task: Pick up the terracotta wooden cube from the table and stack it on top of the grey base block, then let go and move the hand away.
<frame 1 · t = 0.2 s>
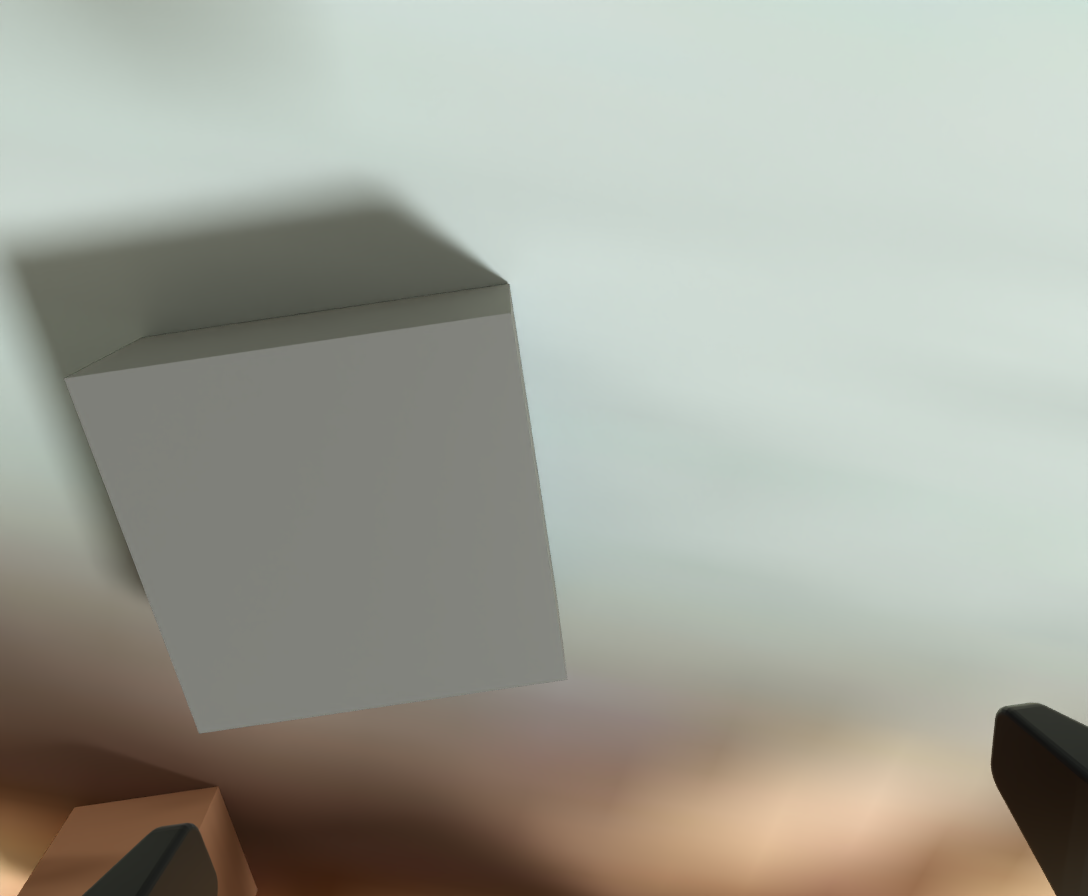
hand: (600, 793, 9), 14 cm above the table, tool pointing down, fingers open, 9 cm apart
terracotta cube: (169, 848, 27), on the table
base block: (366, 478, 23), on the table
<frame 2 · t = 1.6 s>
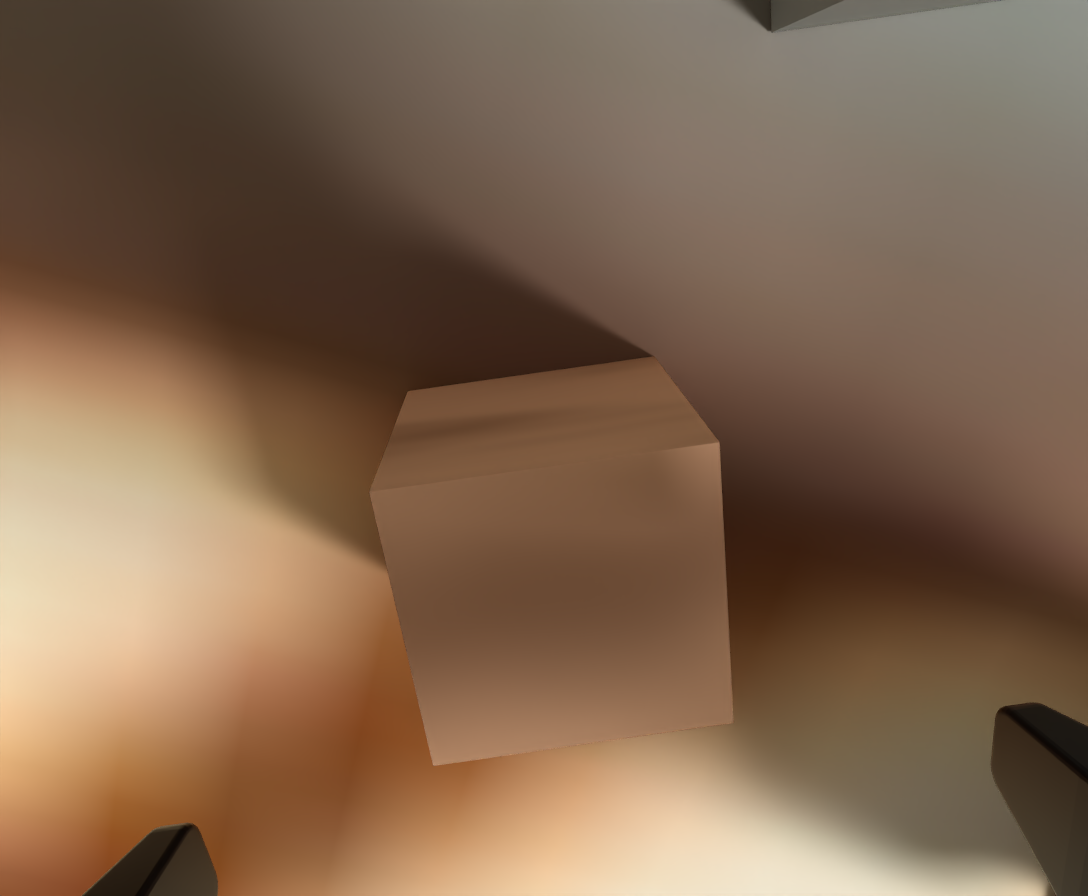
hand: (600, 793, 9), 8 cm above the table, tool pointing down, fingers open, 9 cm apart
terracotta cube: (546, 484, 16), on the table
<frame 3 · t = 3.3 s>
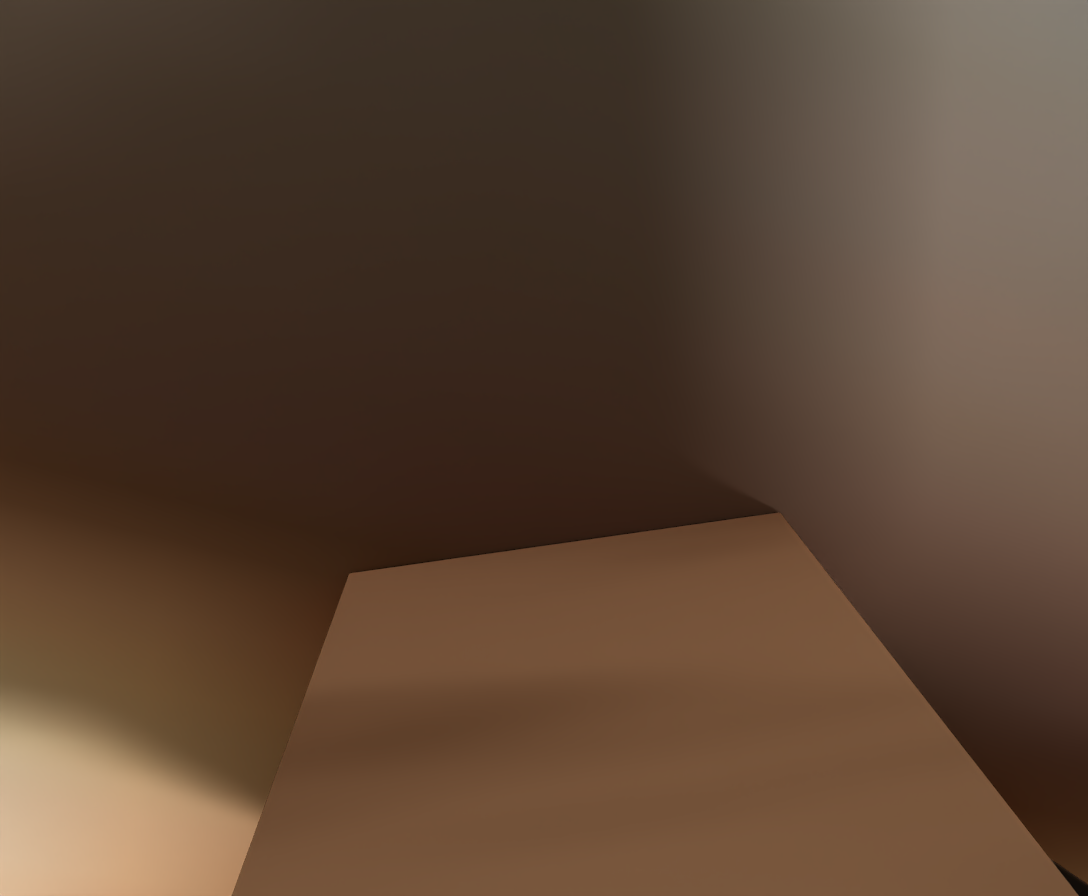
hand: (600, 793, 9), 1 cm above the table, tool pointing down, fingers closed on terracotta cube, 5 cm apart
terracotta cube: (588, 716, 10), on the table, touching gripper
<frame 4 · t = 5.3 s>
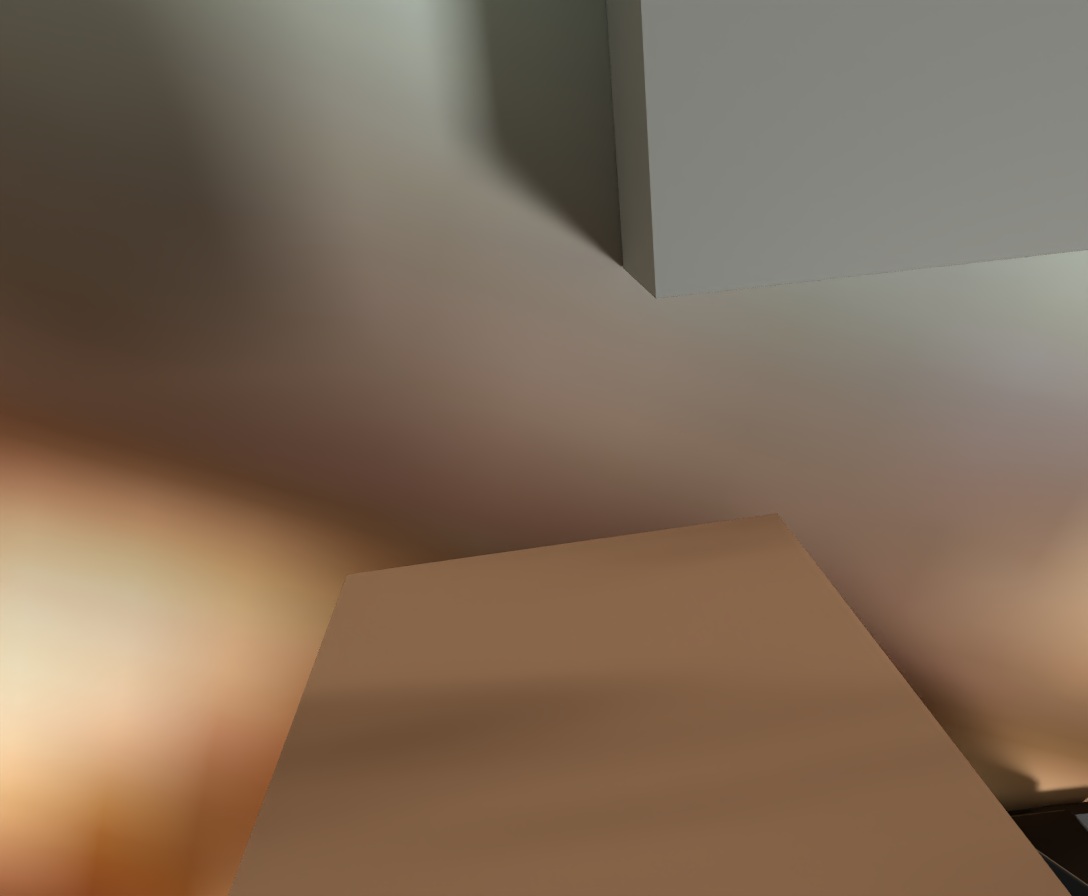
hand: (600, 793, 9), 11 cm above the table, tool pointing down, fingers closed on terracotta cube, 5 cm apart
terracotta cube: (586, 717, 10), point 10 cm above the table, touching gripper
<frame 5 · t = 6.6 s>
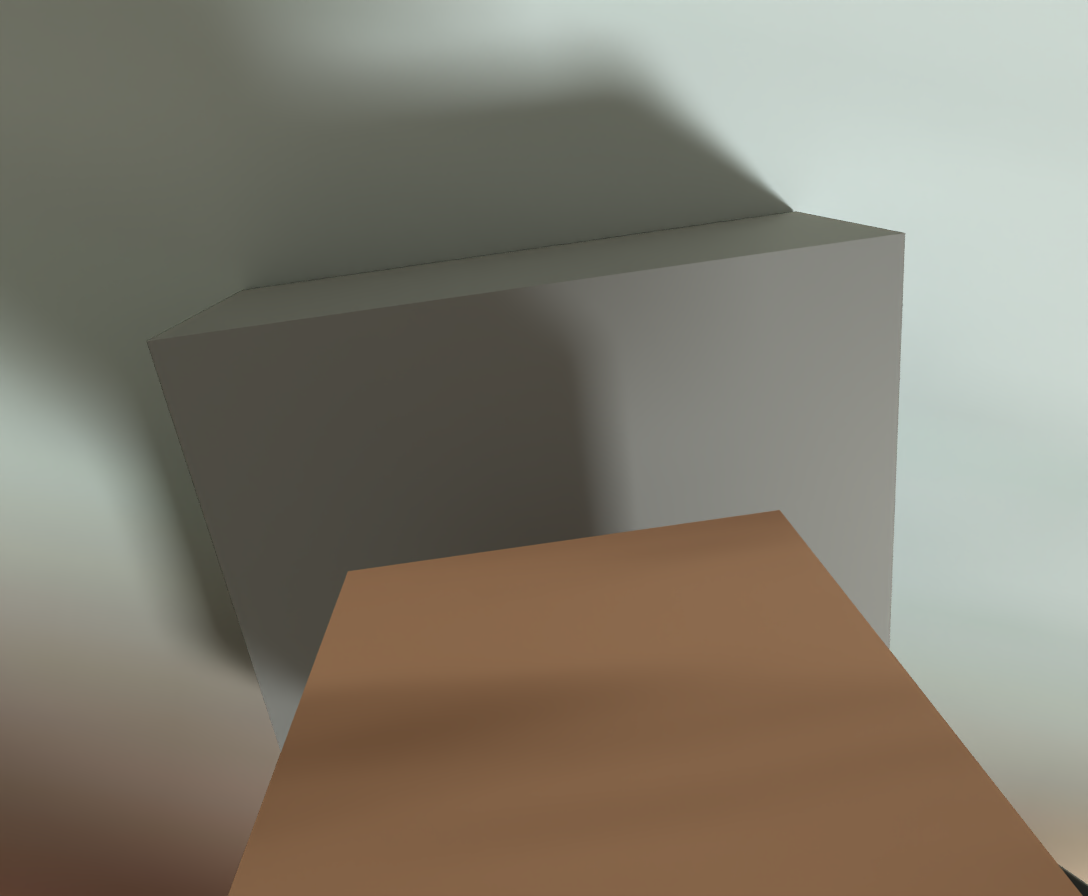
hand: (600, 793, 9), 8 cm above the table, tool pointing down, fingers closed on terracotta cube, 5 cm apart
terracotta cube: (587, 714, 10), point 6 cm above the table, touching gripper
base block: (554, 501, 16), on the table
when the fingers open (7 cm above the table, at t = 7.5 s): terracotta cube drops 2 cm, resting on base block.
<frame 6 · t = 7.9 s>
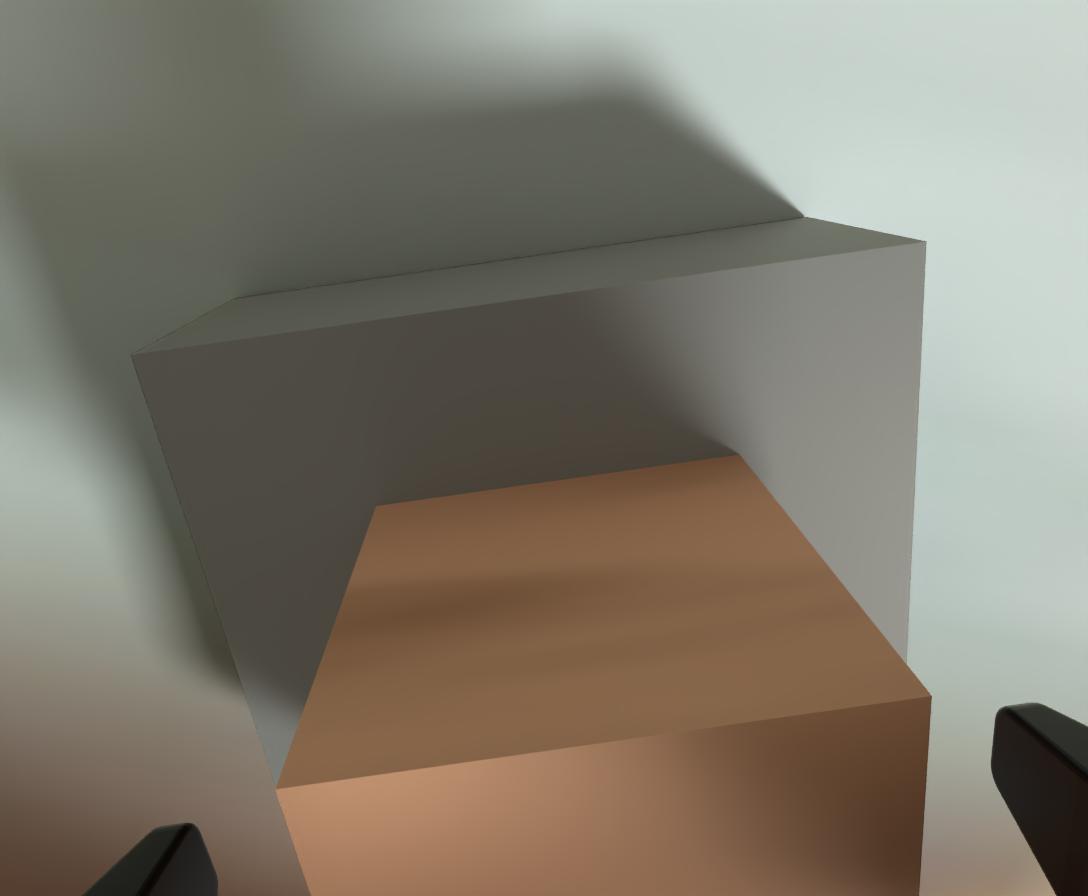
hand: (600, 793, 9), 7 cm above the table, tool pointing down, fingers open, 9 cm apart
terracotta cube: (578, 633, 11), point 4 cm above the table, touching base block
base block: (557, 515, 15), on the table
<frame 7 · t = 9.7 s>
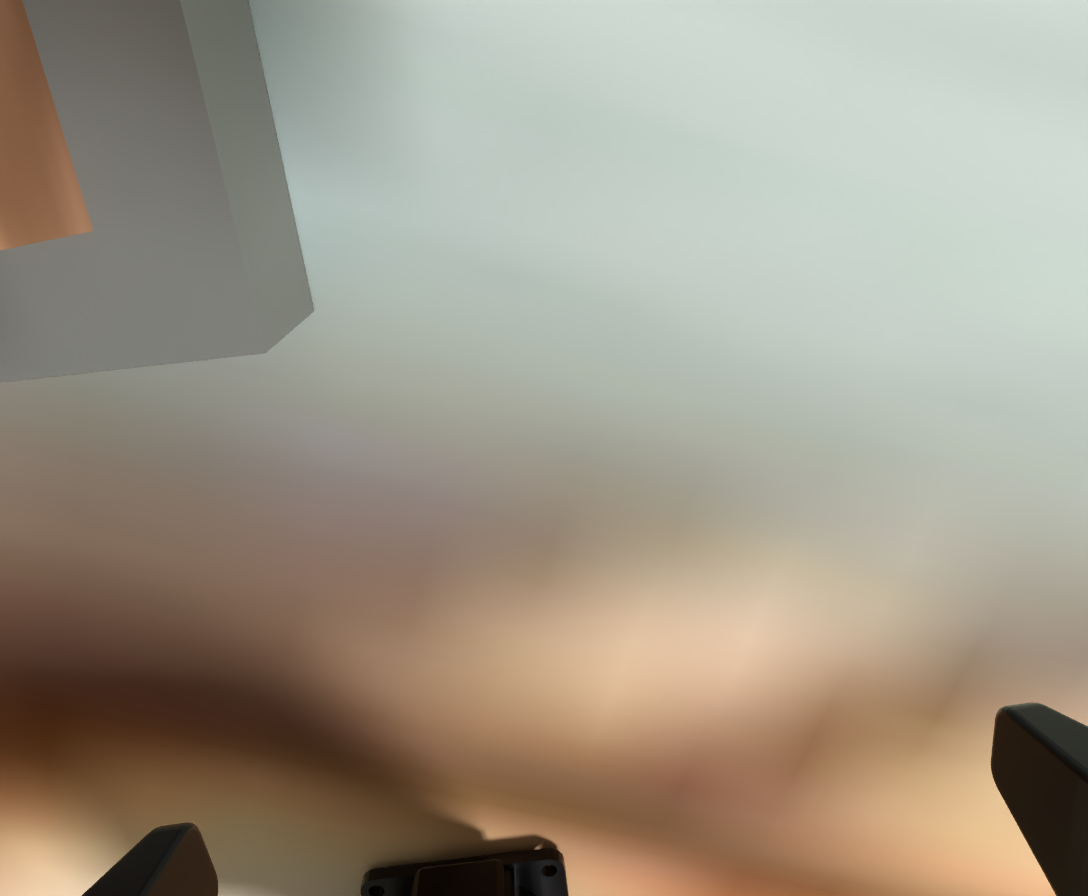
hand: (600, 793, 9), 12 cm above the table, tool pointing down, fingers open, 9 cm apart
base block: (29, 103, 16), on the table
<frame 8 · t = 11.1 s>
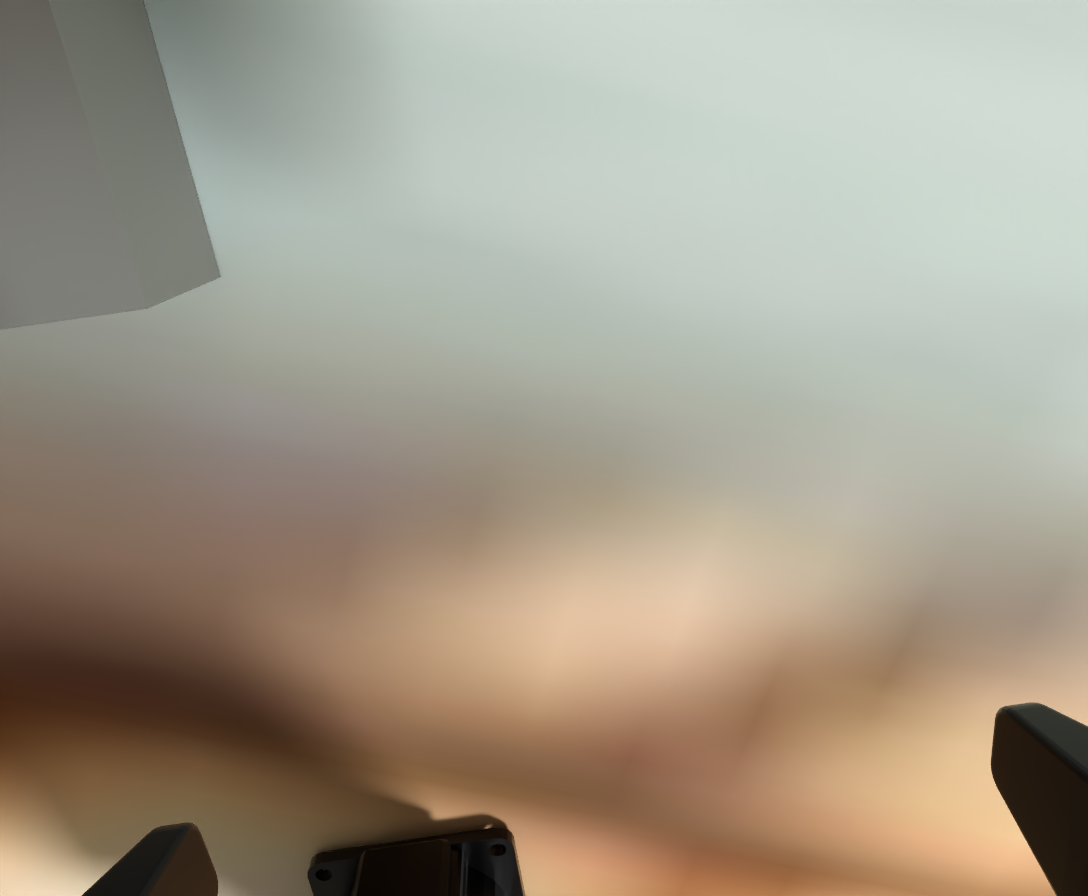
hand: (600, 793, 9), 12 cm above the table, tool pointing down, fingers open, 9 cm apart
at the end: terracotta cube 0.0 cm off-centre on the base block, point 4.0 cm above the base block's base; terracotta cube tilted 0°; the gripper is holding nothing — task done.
